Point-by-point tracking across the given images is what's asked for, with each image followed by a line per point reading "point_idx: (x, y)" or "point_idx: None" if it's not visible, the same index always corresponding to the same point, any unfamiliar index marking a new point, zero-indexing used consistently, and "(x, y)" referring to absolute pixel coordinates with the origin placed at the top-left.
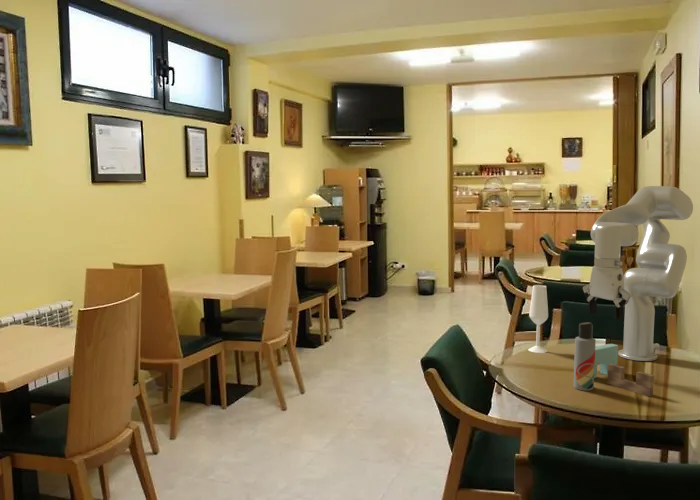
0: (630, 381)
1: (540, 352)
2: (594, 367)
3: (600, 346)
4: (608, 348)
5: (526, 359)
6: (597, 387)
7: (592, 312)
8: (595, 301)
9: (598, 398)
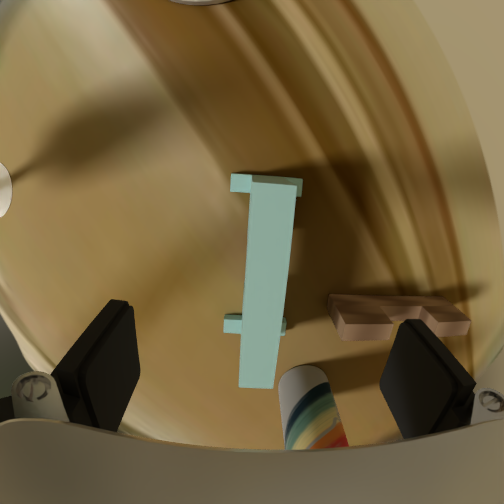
0: (401, 314)
1: (9, 202)
2: (338, 413)
3: (254, 280)
4: (288, 261)
5: (41, 295)
6: (324, 355)
7: (135, 359)
8: (78, 388)
9: (361, 403)
